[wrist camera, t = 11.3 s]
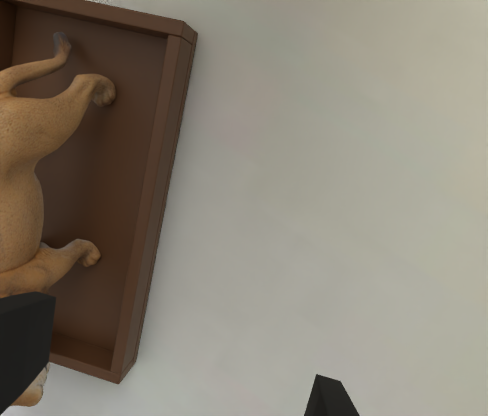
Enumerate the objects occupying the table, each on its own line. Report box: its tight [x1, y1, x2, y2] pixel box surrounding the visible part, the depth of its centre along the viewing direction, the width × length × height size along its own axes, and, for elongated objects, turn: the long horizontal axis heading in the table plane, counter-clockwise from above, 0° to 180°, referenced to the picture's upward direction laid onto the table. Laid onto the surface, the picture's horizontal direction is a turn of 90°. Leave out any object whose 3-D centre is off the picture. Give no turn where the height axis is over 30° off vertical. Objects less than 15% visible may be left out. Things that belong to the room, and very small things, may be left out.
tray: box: [0, 0, 198, 384], centre depth 19 cm, size 17×9×2 cm, turn 167°
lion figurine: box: [0, 32, 116, 407], centre depth 15 cm, size 15×5×9 cm, turn 178°
